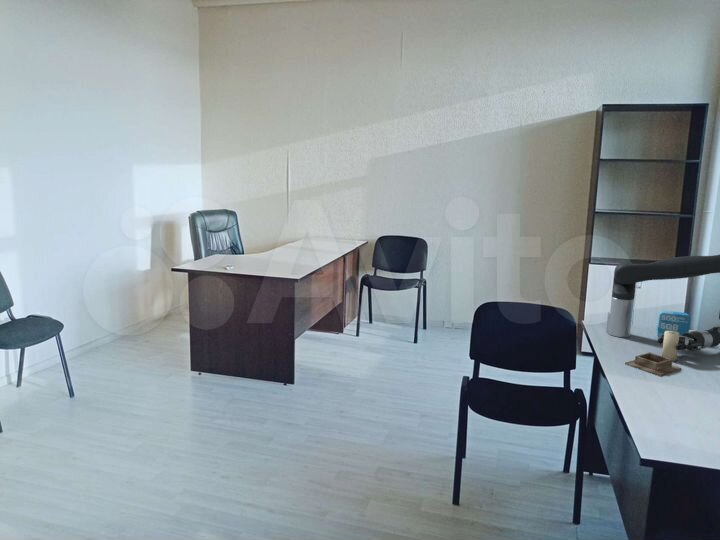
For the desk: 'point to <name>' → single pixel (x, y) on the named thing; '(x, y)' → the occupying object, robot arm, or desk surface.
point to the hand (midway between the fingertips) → (667, 344)
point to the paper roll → (670, 345)
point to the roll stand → (653, 364)
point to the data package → (672, 322)
